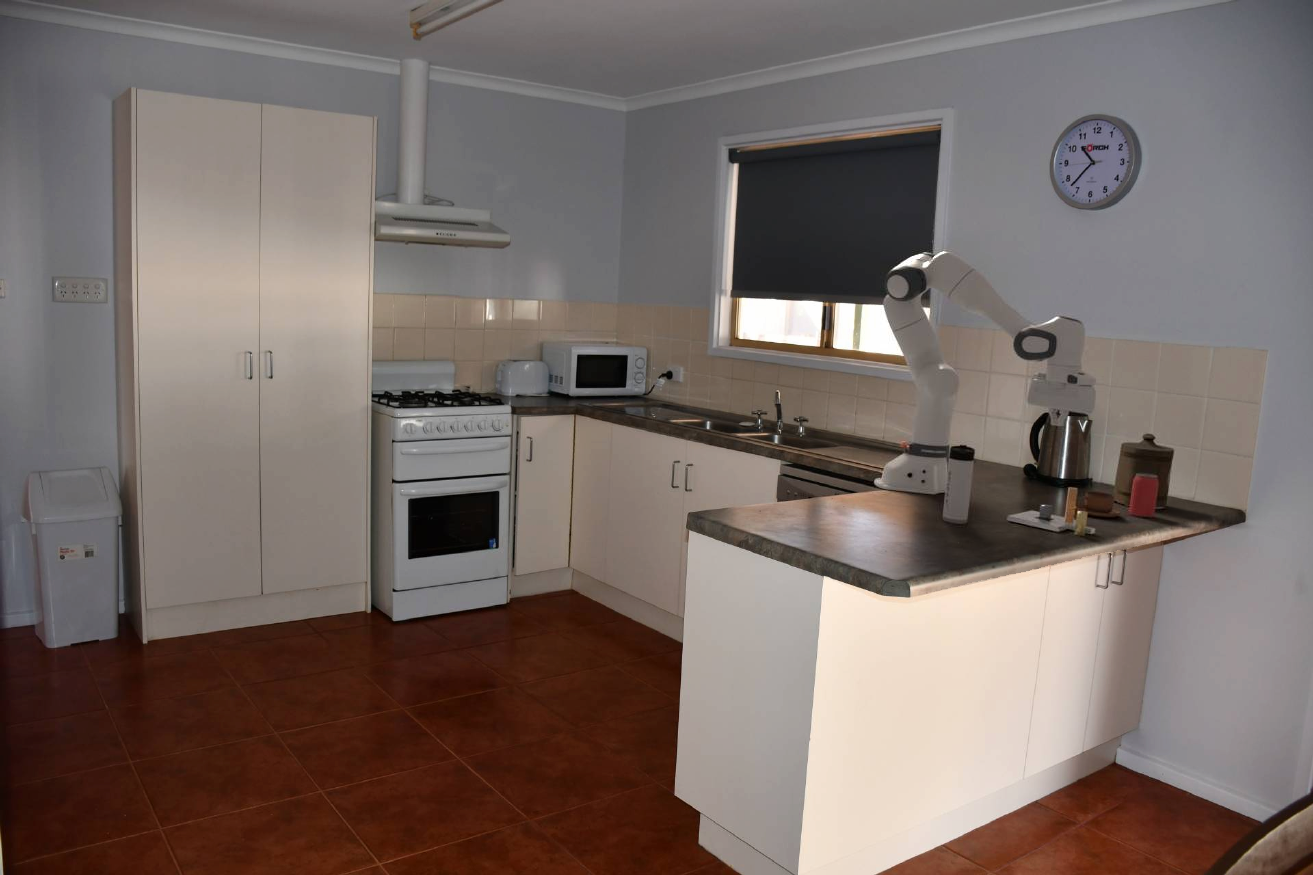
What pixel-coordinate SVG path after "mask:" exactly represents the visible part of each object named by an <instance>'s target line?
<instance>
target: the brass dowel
mask: <svg viewBox="0 0 1313 875" xmlns="http://www.w3.org/2000/svg"><path fill="white" fill-rule="evenodd" d="M1087 514H1088V513H1087V512H1084V511H1078V510H1077V512H1076V519H1075V520H1076V527H1075V530H1074V535H1076V536H1080V537H1085V534H1086V533H1085V529H1086V527H1087V520H1088V515H1087Z"/></svg>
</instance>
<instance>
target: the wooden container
mask: <svg viewBox="0 0 1313 875" xmlns="http://www.w3.org/2000/svg"><path fill="white" fill-rule="evenodd" d="M1142 439H1143V440H1141V441H1139V442H1130V441H1129V442H1122V443H1121V444H1120V451H1119V456H1118V461H1117V462H1118V463H1117V469H1116V473H1115V480H1114V489H1113V494H1112V495H1113V496H1114V500H1115V501H1117V502H1120V503H1122V504H1125V505H1130V500H1131V493H1132V486H1133V480H1134V478H1135V476H1136V474H1137V473H1146V474H1152V475H1156V476H1158V477H1157V479H1158V483H1159V485H1158V492H1157V499H1156V506H1155V508H1156V507H1165V506H1166V507H1167V502H1168V495H1169V490H1170V483H1171V482H1170V480H1171V472H1172V467H1173V466H1172V465H1173V460H1174V454H1175V449H1174V448H1172V447H1169V446H1165V445H1158V444H1157V443H1156V442H1155V441H1154V440H1156V436H1155V435H1154V434H1153V433H1144V434H1143V435H1142Z"/></svg>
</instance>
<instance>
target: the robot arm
mask: <svg viewBox="0 0 1313 875" xmlns="http://www.w3.org/2000/svg"><path fill="white" fill-rule="evenodd" d="M993 286H994V285H992V284H991V282H990V281H989V280H988V279H987V278H986V277H985V276H984V275H983V274H982V273H981V272H980V271H979V270H978V269H977V268H976V267H975V266H973V265H972V264H970V263H969V262H967V260H965V259H964V258H961V257H959V256H958V255H956V253H953V252H951V251H942V252H939V253H938V254H934V253H931V252H919V253H917V254H915V255H913V256H910V257H908V258H906V259H904V260H903V261H902V262H900V264H898V265H897V266H894V267H893V268H892V269H890V271H889V272H888V273H887V274H886V277H885V279H884V290H885V292H886V293H887V295H886V296H885V297H884V299H883V301H882V302H883V309H884V313H885V316H886V319H887V321H888V324H889V327H890V329H891V331H892V334H893V336H894V338H895V341H896V342H897V344H898V346H899V348H900V350H901V352H902V355H903V357H904V360H905V363H906V365H907V367H908V371H909V372H910V375H911V377H912V381H913V382H914V385H915V387H916V389H917V390H918V392H919V394H918V400H917V404H916V409H915V413H914V415H913V421H912V422H913V424H912V433H911V440H910V441H908V442H906V441H904V440H902V441H901V442H900V447H901V448H903V453H902V454H900V455H899V456H897V457H895V458H894V459H892V460H890V461H888V462H887V463H886V464H885V465H884V468H883V471H882V474H881V478H880V477H878V478H875V479H874V482H873V484H874V486H876V487H878V488H881V489H883V490H890V491H899V492H909V493H916V494H917V493H919V494H929V495H937V494H940V493H941V494H942V493H944V494H945V491H946V481H947V472H948V463H949V456H950V448H951V446H950V444H949V443H950V434H951V433H950V432H951V425H952V420H953V419H952V418H953V415H954V414H953V413H954V410H955V406H956V401H957V398H958V392H959V388H960V382H961V381H960V377H959V374H958V373H957V371H956V370H955V369H954V368H953V367H952V366H950V365H948V364H947V361H946V360H945V357H944V355H943V351H942V348H941V346H940V342H939V339H938V337H937V334H936V332H935V330H934V328H933V326H932V324H931V322H930V320H929V317H928V315H927V314H926V312H925V308H924V307H923V305H922V301H921V300H922V296H923V295H924V294H927V293H928V291H930V290H931V289H935V290H937V291H939V292H940V293H942V294H943V295H944V296H945V298H947V299H949V301H951V302H952V303H953V304H955V305H956V306H957V307H959V308H960V309H962V310H964V311H966V312H968V313H970V314H973V315H974V314H975V315H977V316H980V317H983V318H986V319H987V320H990V321H991V322H992V323H994V324H995V325H996V326H997V327H999V328H1000V329H1001V330H1002V331H1003V332H1004V333H1006V334H1007V335H1008V336H1009V337H1010V338H1012V339H1013V344H1012V345H1013V350H1014V353H1015V354H1016V356H1018V357H1019V358H1020V359H1021V360H1024V361H1027V362H1037V363H1038V362H1043V361H1045V360H1046V362H1047V364H1046V371H1045V373H1042V372H1037V373H1035V374H1034V375H1033V376H1032V377H1031V382H1030V385H1029V389H1028V393H1027V398H1026V401H1027V403H1028V405H1029V406H1036V407H1042V408H1048V414H1049V417H1050V425H1051V426H1057V427H1063V426H1064V423H1065V420H1066V418H1067V417H1068V416H1069V412H1071V413H1077V414H1078V413H1079V414H1091V413H1093V411H1095V407H1096V398H1097V397H1096V389H1095V385H1096V384H1097V378H1096V377H1094V376H1092V375H1090V374H1089V373H1086V371H1083V370H1082V366H1083V365H1082V355H1083V353H1084V351H1085V350H1084V349H1085V341H1086V329H1085V327H1086V326H1085V325H1084V323H1083V322H1082V321H1081V320H1079V319H1077V318H1073V317H1067V316H1065V315H1058V316H1057V315H1056V316H1055V317H1054V318H1052V319H1050V320H1048V321H1046V322H1043V323H1040V324H1034V323H1032V322H1031V321H1029V320H1027V319H1026V318H1025V317H1023V316H1022V315H1021V314H1020V313H1018V311H1017V310H1015V309H1014V308H1013V307H1011V306H1010V305H1009V304H1007V302H1006V301H1005V300H1004V299H1003V298H1002V296H1000V294H999V293H998V292H997V290H996V289H995V288H994V287H993ZM1058 411H1059V412H1058ZM1057 413H1058V414H1060V415H1059V416H1058V415H1057Z"/></svg>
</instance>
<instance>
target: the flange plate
mask: <svg viewBox="0 0 1313 875" xmlns="http://www.w3.org/2000/svg"><path fill="white" fill-rule="evenodd" d="M1067 488H1068V490H1067V497H1066V504H1065V514H1064V516H1060V515H1055V514H1051V520H1050V521H1047V520H1042V519H1039V512H1040V511H1036V510H1027V511H1024V512H1020V513H1019V512H1018V513H1014V514H1010V515H1007V516H1006V517H1007V518H1006V520H1007V521H1009V522H1014V523H1019V524H1023V525H1027V526H1030V527H1035V528H1041V529H1044V530H1049V531H1053V532H1062V531H1065V530H1070V531H1075V527H1076V519H1075V512H1076V507H1075V506H1076V505H1077V504H1076V503H1077V499H1078V498H1077V497H1078V490H1079V489H1078V488H1077V487H1071V486H1070V487H1067ZM1095 533H1096V528H1095V527H1091V526H1086V529H1085V534H1088V535H1089V534H1090V535H1092V534H1095Z"/></svg>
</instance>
